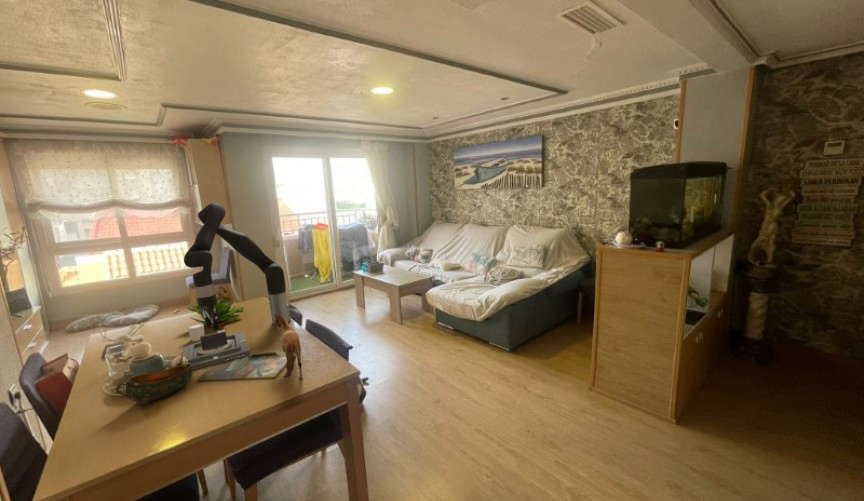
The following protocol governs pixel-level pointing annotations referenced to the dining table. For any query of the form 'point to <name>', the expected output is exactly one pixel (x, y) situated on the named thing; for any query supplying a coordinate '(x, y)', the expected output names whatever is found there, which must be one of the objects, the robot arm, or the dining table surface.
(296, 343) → the horse figurine
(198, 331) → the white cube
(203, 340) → the dial
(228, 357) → the dial board
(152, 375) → the dark green oval bowl
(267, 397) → the dining table surface
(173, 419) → the dining table surface
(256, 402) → the dining table surface
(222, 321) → the potted flower
